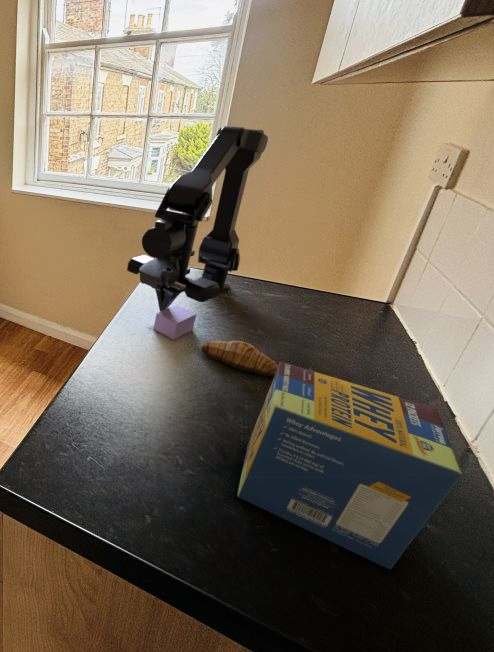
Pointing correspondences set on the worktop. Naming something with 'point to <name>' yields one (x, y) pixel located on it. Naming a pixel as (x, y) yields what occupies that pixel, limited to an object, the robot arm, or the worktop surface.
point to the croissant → (240, 356)
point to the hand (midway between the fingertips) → (162, 311)
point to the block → (174, 321)
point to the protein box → (348, 462)
